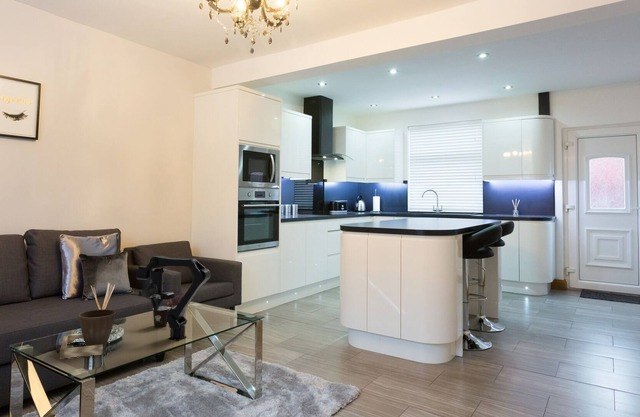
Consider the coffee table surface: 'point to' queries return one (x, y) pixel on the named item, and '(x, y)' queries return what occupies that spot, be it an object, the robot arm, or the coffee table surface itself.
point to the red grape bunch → (175, 301)
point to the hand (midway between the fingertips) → (155, 311)
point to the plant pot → (96, 326)
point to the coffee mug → (160, 317)
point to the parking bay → (78, 348)
